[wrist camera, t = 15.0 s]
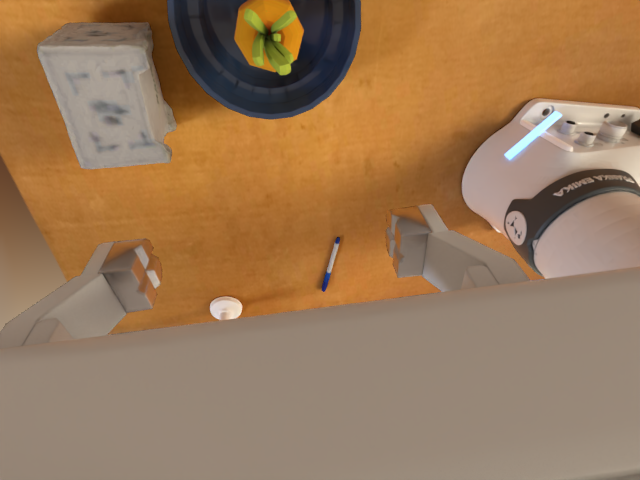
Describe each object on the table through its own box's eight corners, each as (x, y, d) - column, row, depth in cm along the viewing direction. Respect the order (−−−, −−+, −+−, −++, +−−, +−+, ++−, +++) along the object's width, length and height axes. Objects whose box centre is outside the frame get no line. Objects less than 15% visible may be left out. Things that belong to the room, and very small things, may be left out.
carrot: (235, -16, 32) (217, 6, 21) (291, -23, 32) (306, -4, 21) (247, 47, 35) (237, 97, 24) (298, 40, 36) (314, 87, 24)
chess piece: (208, 315, 59) (199, 372, 51) (211, 294, 56) (202, 350, 48) (239, 318, 60) (236, 374, 52) (244, 297, 57) (241, 353, 49)
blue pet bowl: (315, -131, 29) (325, -147, 24) (365, 63, 38) (380, 81, 33) (146, -49, 31) (122, -47, 26) (232, 117, 40) (228, 142, 35)
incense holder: (188, 126, 40) (168, 172, 32) (106, 125, 39) (64, 173, 31) (170, 21, 34) (140, 46, 26) (72, 17, 33) (9, 41, 25)
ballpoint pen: (326, 289, 58) (327, 293, 57) (320, 288, 58) (321, 293, 57) (340, 236, 52) (341, 240, 51) (333, 235, 52) (334, 240, 51)
